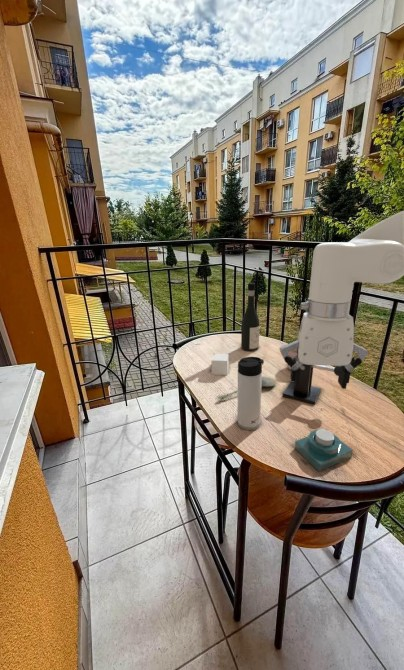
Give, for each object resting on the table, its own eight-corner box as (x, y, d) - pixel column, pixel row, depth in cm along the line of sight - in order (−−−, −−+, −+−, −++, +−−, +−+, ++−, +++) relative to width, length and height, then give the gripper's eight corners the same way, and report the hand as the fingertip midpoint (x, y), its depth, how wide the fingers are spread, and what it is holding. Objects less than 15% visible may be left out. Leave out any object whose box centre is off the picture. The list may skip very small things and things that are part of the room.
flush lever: (345, 374, 84) (347, 365, 83) (344, 379, 81) (345, 369, 80) (301, 365, 91) (302, 356, 90) (298, 369, 88) (299, 360, 87)
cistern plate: (325, 436, 73) (327, 423, 72) (351, 457, 66) (354, 443, 65) (294, 448, 70) (295, 434, 68) (318, 471, 63) (320, 457, 61)
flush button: (324, 433, 69) (324, 427, 68) (337, 443, 65) (338, 437, 65) (311, 437, 68) (312, 431, 67) (324, 448, 64) (324, 442, 63)
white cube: (211, 374, 107) (211, 360, 105) (213, 367, 112) (213, 353, 110) (227, 375, 106) (227, 360, 104) (228, 368, 111) (228, 354, 109)
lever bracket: (320, 391, 93) (325, 356, 88) (314, 405, 86) (319, 367, 81) (290, 384, 98) (293, 350, 94) (282, 396, 91) (285, 361, 87)
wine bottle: (262, 347, 129) (264, 282, 119) (252, 353, 124) (254, 285, 113) (247, 343, 134) (248, 281, 124) (237, 349, 129) (238, 283, 118)
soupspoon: (279, 388, 97) (266, 381, 102) (279, 379, 96) (266, 372, 102) (225, 405, 87) (214, 396, 93) (225, 395, 86) (214, 387, 92)
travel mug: (259, 433, 75) (261, 366, 68) (235, 428, 77) (235, 363, 70) (262, 419, 81) (265, 355, 74) (240, 414, 83) (240, 353, 76)
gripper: (285, 313, 53) (279, 392, 59) (384, 314, 50) (368, 395, 56) (280, 303, 60) (275, 375, 66) (367, 303, 57) (354, 377, 63)
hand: (318, 384), depth 61 cm, fingers open, 9 cm apart
